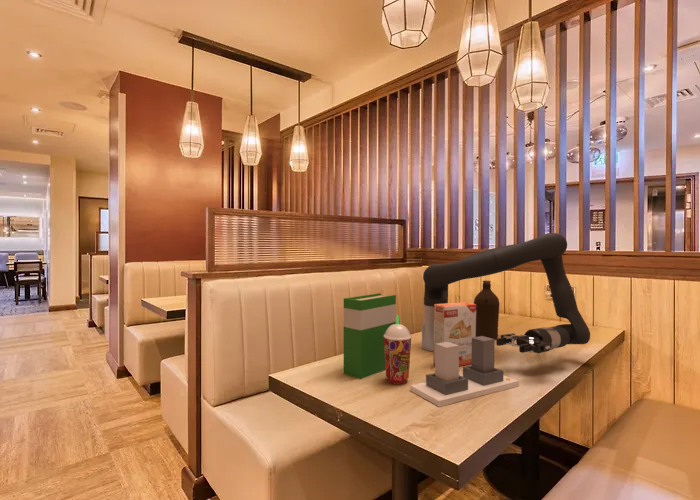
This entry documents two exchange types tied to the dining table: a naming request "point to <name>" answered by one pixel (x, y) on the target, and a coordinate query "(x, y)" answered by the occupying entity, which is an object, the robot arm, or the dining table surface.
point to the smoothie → (397, 353)
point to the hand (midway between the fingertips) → (508, 345)
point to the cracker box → (456, 327)
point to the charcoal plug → (483, 354)
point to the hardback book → (366, 333)
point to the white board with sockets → (458, 379)
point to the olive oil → (487, 312)
